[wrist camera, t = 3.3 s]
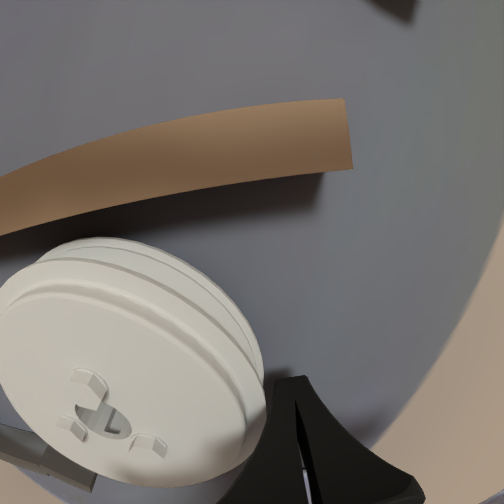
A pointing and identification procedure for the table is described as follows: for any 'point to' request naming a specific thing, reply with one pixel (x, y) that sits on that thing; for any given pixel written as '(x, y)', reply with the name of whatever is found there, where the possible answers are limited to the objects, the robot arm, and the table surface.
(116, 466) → the lid
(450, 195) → the table surface
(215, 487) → the table surface
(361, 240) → the table surface
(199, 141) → the u-shaped bar frame
